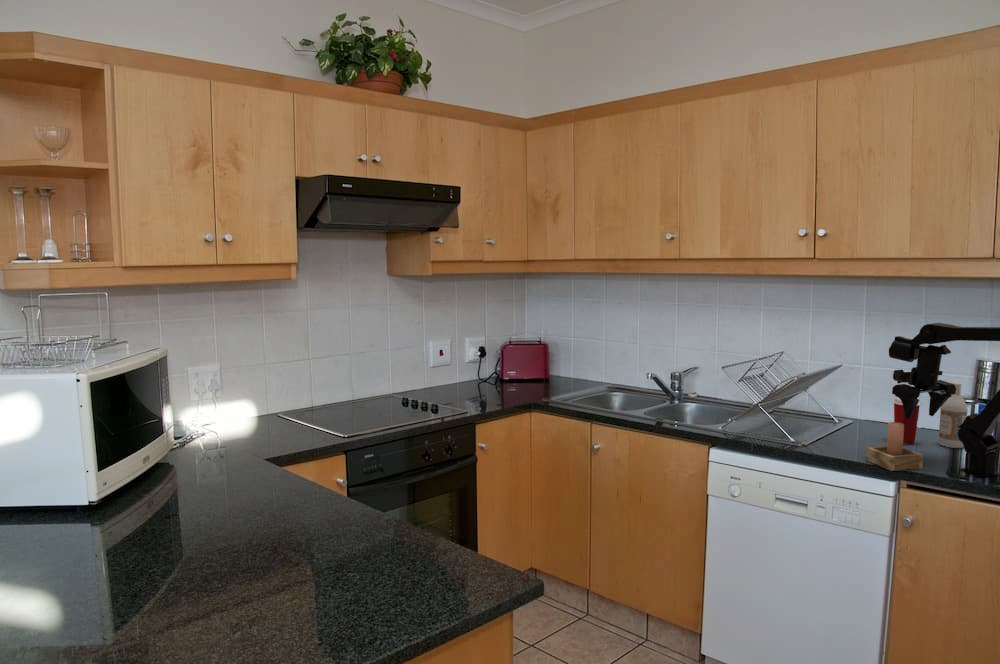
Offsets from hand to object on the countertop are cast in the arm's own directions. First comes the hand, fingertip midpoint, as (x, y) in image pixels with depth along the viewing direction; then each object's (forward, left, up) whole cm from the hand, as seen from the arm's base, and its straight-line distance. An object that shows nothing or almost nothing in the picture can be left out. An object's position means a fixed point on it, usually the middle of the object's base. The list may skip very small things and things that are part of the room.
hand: (919, 417), depth 206 cm
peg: (-4, +11, -12) cm, 17 cm away
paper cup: (+16, -10, -13) cm, 23 cm away
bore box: (-4, +11, -12) cm, 17 cm away
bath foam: (+9, -21, -13) cm, 26 cm away
